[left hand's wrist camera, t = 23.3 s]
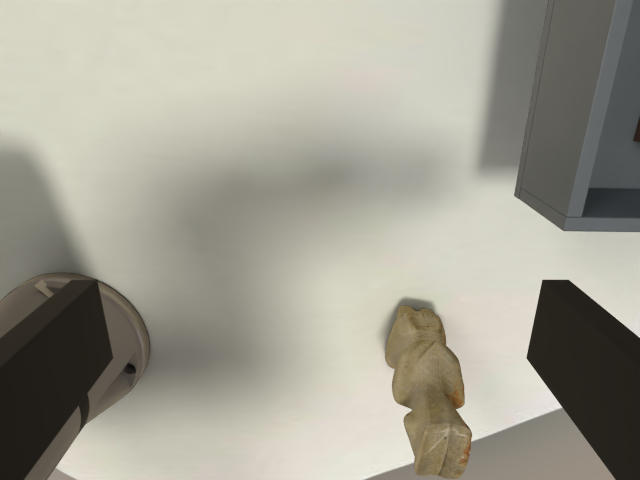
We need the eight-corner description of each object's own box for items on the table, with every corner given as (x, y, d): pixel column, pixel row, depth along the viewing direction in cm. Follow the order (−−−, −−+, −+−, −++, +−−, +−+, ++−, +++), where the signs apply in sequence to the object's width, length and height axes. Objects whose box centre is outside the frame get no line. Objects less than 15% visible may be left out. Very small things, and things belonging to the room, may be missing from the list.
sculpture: (373, 353, 45) (391, 481, 31) (390, 293, 42) (419, 402, 28) (428, 363, 45) (471, 494, 31) (448, 303, 42) (505, 417, 28)
